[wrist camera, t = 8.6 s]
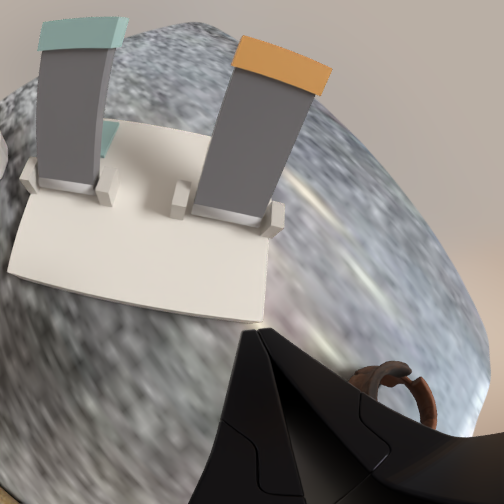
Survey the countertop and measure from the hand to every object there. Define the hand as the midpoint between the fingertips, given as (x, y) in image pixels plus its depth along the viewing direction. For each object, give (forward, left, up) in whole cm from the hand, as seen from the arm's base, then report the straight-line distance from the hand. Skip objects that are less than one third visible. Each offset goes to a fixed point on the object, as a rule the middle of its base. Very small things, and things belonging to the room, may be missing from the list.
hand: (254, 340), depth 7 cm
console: (+3, +8, -9) cm, 13 cm away
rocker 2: (+6, +4, -7) cm, 10 cm away
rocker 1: (0, +12, -7) cm, 14 cm away
